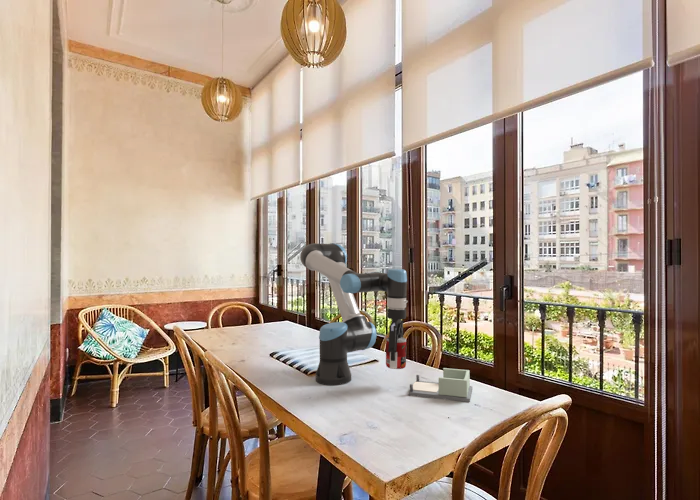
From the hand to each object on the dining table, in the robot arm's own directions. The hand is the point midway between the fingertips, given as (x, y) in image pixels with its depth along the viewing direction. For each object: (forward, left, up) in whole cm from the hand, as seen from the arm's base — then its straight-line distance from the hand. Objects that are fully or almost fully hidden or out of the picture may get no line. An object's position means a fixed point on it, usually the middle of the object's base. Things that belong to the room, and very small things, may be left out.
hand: (395, 365), depth 164 cm
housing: (+23, +1, -7) cm, 24 cm away
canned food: (0, 0, -1) cm, 1 cm away
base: (+18, +1, -9) cm, 20 cm away
